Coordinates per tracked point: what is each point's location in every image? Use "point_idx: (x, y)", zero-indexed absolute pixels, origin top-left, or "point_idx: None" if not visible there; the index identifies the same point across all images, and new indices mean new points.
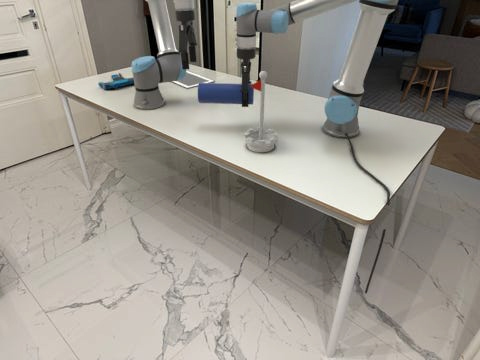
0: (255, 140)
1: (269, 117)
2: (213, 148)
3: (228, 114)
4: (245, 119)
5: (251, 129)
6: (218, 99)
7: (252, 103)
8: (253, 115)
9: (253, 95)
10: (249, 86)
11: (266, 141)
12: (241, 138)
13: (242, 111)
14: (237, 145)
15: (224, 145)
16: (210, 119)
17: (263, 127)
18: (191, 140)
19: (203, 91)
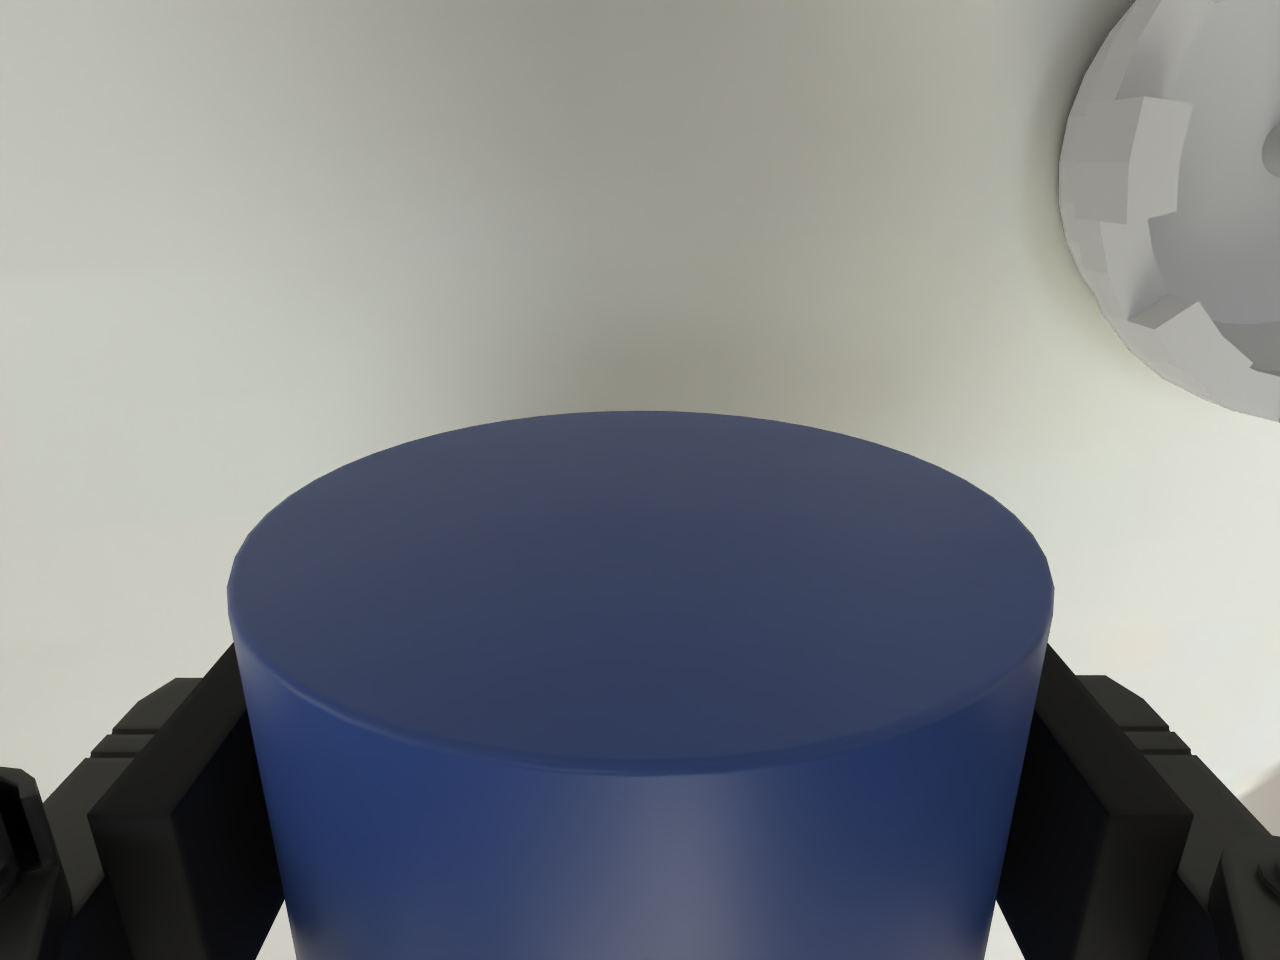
0: (1164, 237)
1: (120, 12)
2: (1212, 723)
3: (184, 673)
4: (309, 430)
5: (1214, 333)
6: None
7: (847, 443)
8: (114, 314)
9: (499, 477)
10: (865, 901)
11: (1227, 48)
12: (973, 439)
13: (4, 497)
14: (1177, 473)
15: (1154, 621)
16: None
17: (1158, 100)
18: (988, 940)
19: None
